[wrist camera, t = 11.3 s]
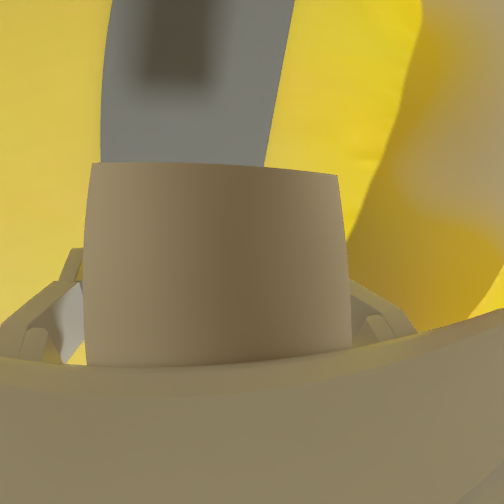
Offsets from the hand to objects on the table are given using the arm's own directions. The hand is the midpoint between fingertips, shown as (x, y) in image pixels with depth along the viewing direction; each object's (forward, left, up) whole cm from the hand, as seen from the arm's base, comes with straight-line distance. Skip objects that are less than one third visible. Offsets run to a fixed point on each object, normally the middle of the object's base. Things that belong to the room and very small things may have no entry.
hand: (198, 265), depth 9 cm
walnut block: (0, -5, -4) cm, 7 cm away
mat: (0, +4, -14) cm, 14 cm away
